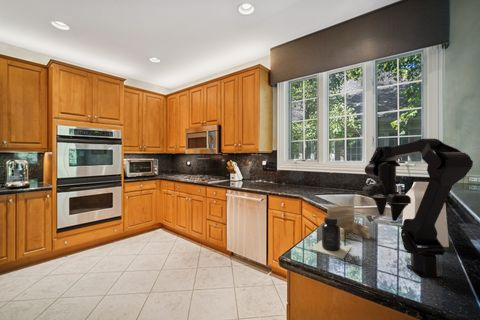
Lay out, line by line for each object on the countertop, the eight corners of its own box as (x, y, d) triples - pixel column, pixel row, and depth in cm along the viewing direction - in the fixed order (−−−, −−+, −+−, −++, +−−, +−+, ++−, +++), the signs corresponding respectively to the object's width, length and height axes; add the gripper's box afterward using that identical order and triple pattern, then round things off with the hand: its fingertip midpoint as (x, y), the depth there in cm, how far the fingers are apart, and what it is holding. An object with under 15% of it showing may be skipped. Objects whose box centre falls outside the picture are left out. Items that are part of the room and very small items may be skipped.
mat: (350, 248, 85) (350, 247, 85) (343, 258, 76) (343, 257, 76) (320, 241, 93) (320, 240, 93) (310, 249, 83) (310, 248, 83)
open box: (369, 238, 96) (369, 209, 96) (342, 240, 93) (341, 211, 93) (352, 231, 106) (352, 205, 107) (327, 232, 104) (327, 206, 104)
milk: (432, 237, 97) (431, 181, 98) (448, 247, 86) (447, 183, 87) (401, 235, 101) (401, 180, 101) (413, 243, 90) (413, 182, 90)
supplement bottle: (344, 249, 83) (344, 219, 83) (332, 253, 79) (332, 221, 80) (329, 243, 89) (329, 215, 89) (318, 246, 85) (318, 217, 86)
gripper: (355, 176, 93) (355, 211, 93) (377, 179, 75) (377, 223, 74) (382, 176, 92) (382, 212, 92) (411, 179, 73) (412, 224, 73)
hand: (387, 217), depth 83 cm, fingers open, 9 cm apart
